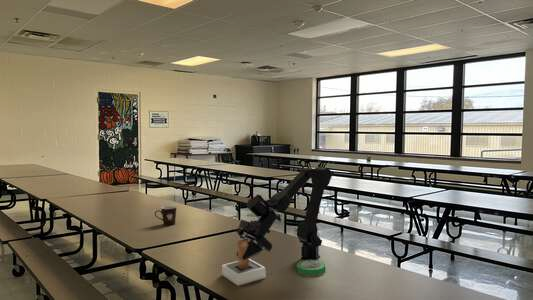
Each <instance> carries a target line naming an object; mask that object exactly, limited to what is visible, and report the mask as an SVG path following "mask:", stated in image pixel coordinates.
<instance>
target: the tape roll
mask: <svg viewBox="0 0 533 300" xmlns="http://www.w3.org/2000/svg"><path fill="white" fill-rule="evenodd" d="M296 271H297V273H299V274H301V275H303V276H308V277H309V276H310V277H315V276H320V275H321V276H322V275H323V274H325V273H326V263H325V262H323V261H321V260H319V259H317V260H303V259H302V260H301V261H299V262H297V263H296Z"/></svg>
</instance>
